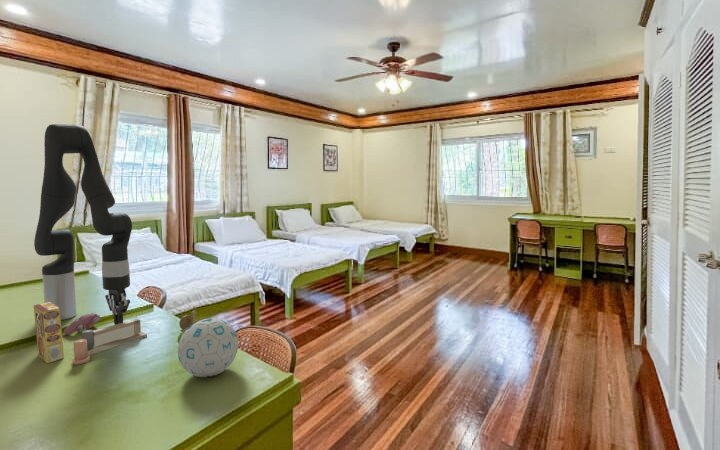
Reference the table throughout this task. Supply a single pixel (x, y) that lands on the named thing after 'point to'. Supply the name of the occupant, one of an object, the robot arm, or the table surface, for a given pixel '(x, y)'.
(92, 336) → the beige wooden bar
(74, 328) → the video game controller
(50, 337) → the candy box
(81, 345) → the peach rounded knob
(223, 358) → the puzzle ball
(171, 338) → the table surface
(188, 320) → the snail figurine
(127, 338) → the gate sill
